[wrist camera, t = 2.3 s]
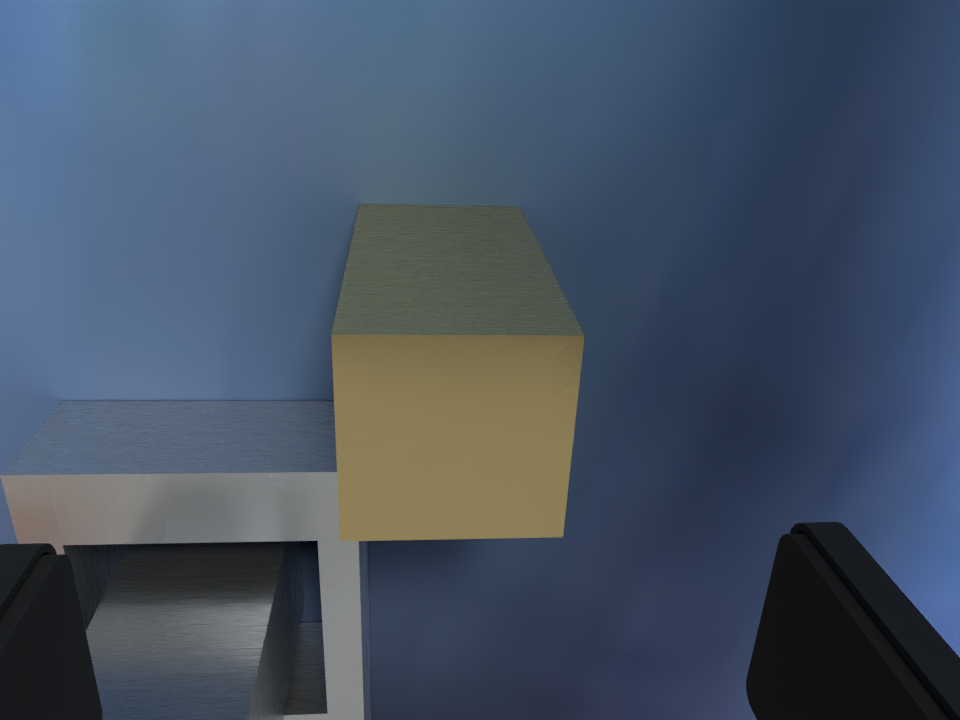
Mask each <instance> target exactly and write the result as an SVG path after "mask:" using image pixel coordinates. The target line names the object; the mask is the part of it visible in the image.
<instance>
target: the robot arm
mask: <svg viewBox="0 0 960 720" xmlns="http://www.w3.org/2000/svg"><path fill="white" fill-rule="evenodd" d="M746 690H747V696H748V700H749V704H750V706H751V708H752V711H753V713H754V714H755V716H756V718H757V720H960V658H959V657H958V655H957V654H956V653H955V652H954V651H953V650H952V649H951V647H950V646H949V645H948V644H947V643H946V642H945V640H944V639H943V638H942V637H941V636H940V635H939V634H938V632H937V631H936V630H935V629H934V628H933V627H932V626H931V624H930V623H929V622H928V621H927V620H926V619H925V617H924V616H923V615H922V614H921V613H920V612H919V611H918V609H917V608H916V607H915V606H914V605H913V604H912V602H911V601H910V600H909V599H908V598H907V597H906V596H905V594H904V593H903V592H902V591H901V590H900V589H899V587H898V586H897V585H896V584H895V583H894V582H893V581H892V579H891V578H890V577H889V576H888V575H887V574H886V572H885V571H884V570H883V569H882V568H881V567H880V566H879V564H878V563H877V562H876V561H875V560H874V559H873V557H872V556H871V555H870V554H869V553H868V552H867V551H866V549H865V548H864V547H863V546H862V545H861V544H860V542H859V541H858V540H857V539H856V538H855V537H854V536H853V534H852V533H851V532H850V531H849V530H848V529H847V528H846V527H845V526H844V525H843V524H842V523H838V522H816V523H798V524H795V525H794V527H793V528H792V529H791V532H790V534H785V535H783V536H782V537H781V538H780V541H779V544H778V548H777V552H776V556H775V560H774V565H773V569H772V573H771V577H770V582H769V586H768V590H767V594H766V599H765V603H764V607H763V611H762V616H761V620H760V624H759V628H758V633H757V637H756V641H755V645H754V649H753V654H752V658H751V662H750V666H749V671H748V675H747V681H746ZM0 720H102V707H101V702H100V697H99V693H98V688H97V683H96V678H95V674H94V669H93V664H92V659H91V655H90V650H89V645H88V640H87V636H86V631H85V626H84V621H83V617H82V612H81V607H80V602H79V598H78V593H77V588H76V583H75V579H74V574H73V569H72V564H71V561H70V559H69V557H68V556H67V555H64V554H60V555H57V553H56V550H55V548H54V547H53V546H52V545H51V544H49V543H30V544H2V545H0Z"/></svg>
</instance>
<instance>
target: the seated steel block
mask: <svg viewBox="0 0 960 720" xmlns="http://www.w3.org/2000/svg"><path fill="white" fill-rule="evenodd" d="M303 602H304V586H303V572H302V557H301V543H300V541H270V542H214V543H158V544H129V545H128V547H127V549H126V551H125V553H124V555H123V557H122V559H121V561H120V564H119V566H118V568H117V570H116V572H115V574H114V576H113V578H112V580H111V582H110V584H109V586H108V588H107V590H106V592H105V594H104V596H103V598H102V600H101V602H100V604H99V606H98V608H97V610H96V612H95V614H94V616H93V618H92V620H91V622H90V624H89V626H88V628H87V630H86V636H87V640H88V645H89V650H90V655H91V659H92V664H93V669H94V674H95V678H96V683H97V688H98V693H99V697H100V702H101V707H102V720H284V714H285V708H286V702H287V697H288V691H289V685H290V679H291V673H292V667H293V661H294V655H295V649H296V643H297V638H298V632H299V626H300V620H301V614H302V608H303Z"/></svg>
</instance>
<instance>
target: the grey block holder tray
mask: <svg viewBox="0 0 960 720" xmlns="http://www.w3.org/2000/svg"><path fill="white" fill-rule="evenodd" d="M0 477H1V480H2V484H3V488H4V492H5V496H6V499H7V503H8V507H9V511H10V515H11V519H12V522H13V526H14V530H15V534H16V538H17V542H18V544H30V543H49V544H51V545H52V546H53V547H54V548H55V550H56V553H57V555H60V554H64V555H67V556H68V557H69V559H70V561H71V564H72V569H73V574H74V579H75V583H76V588H77V593H78V598H79V602H80V607H81V612H82V617H83V621H84V626H85V631H86V630H87V628H88V626H89V624H90V622H91V620H92V618H93V616H94V614H95V612H96V610H97V608H98V606H99V604H100V602H101V600H102V598H103V596H104V594H105V592H106V590H107V588H108V586H109V584H110V582H111V580H112V578H113V576H114V574H115V572H116V570H117V568H118V566H119V564H120V561H121V559H122V557H123V555H124V553H125V551H126V549H127V547H128V546H127V544H158V543H214V542H270V541H318V557H319V574H320V592H321V609H322V622H315V623H300V626H299V632H298V638H297V643H296V649H295V655H294V661H293V667H292V673H291V679H290V685H289V691H288V697H287V702H286V708H285V714H284V720H372V709H371V667H370V625H369V583H368V541H340V528H339V505H338V481H337V458H336V435H335V412H334V401H61V402H60V404H59V405H58V406H57V407H56V408H55V410H54V411H53V412H52V413H51V414H50V416H49V417H48V418H47V419H46V421H45V422H44V423H43V424H42V425H41V427H40V428H39V429H38V430H37V431H36V433H35V434H34V435H33V436H32V437H31V439H30V440H29V441H28V442H27V444H26V445H25V446H24V447H23V448H22V450H21V451H20V452H19V453H18V454H17V456H16V457H15V458H14V459H13V460H12V462H11V463H10V464H9V465H8V467H7V468H6V469H5V470H4V471H3V473H2V474H1V475H0Z"/></svg>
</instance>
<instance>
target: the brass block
mask: <svg viewBox="0 0 960 720" xmlns="http://www.w3.org/2000/svg"><path fill="white" fill-rule="evenodd" d="M584 337H585V335H584V333H583V331H582V329H581V327H580V325H579V323H578V321H577V319H576V317H575V315H574V313H573V311H572V309H571V307H570V305H569V303H568V301H567V299H566V297H565V295H564V293H563V291H562V289H561V287H560V285H559V283H558V281H557V279H556V277H555V275H554V273H553V271H552V269H551V267H550V265H549V263H548V261H547V259H546V257H545V255H544V253H543V251H542V249H541V247H540V245H539V243H538V241H537V239H536V237H535V235H534V233H533V231H532V229H531V227H530V225H529V223H528V221H527V219H526V217H525V215H524V213H523V211H522V209H521V207H496V206H446V205H397V204H359V208H358V213H357V218H356V222H355V227H354V231H353V236H352V241H351V245H350V250H349V254H348V259H347V264H346V268H345V273H344V278H343V282H342V287H341V291H340V296H339V301H338V305H337V310H336V314H335V319H334V324H333V328H332V333H331V342H332V365H333V389H334V412H335V435H336V458H337V481H338V505H339V528H340V541H389V540H442V539H495V538H547V537H563V532H564V523H565V513H566V504H567V495H568V486H569V476H570V467H571V458H572V448H573V439H574V430H575V421H576V411H577V402H578V393H579V384H580V374H581V365H582V356H583V347H584Z"/></svg>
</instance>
